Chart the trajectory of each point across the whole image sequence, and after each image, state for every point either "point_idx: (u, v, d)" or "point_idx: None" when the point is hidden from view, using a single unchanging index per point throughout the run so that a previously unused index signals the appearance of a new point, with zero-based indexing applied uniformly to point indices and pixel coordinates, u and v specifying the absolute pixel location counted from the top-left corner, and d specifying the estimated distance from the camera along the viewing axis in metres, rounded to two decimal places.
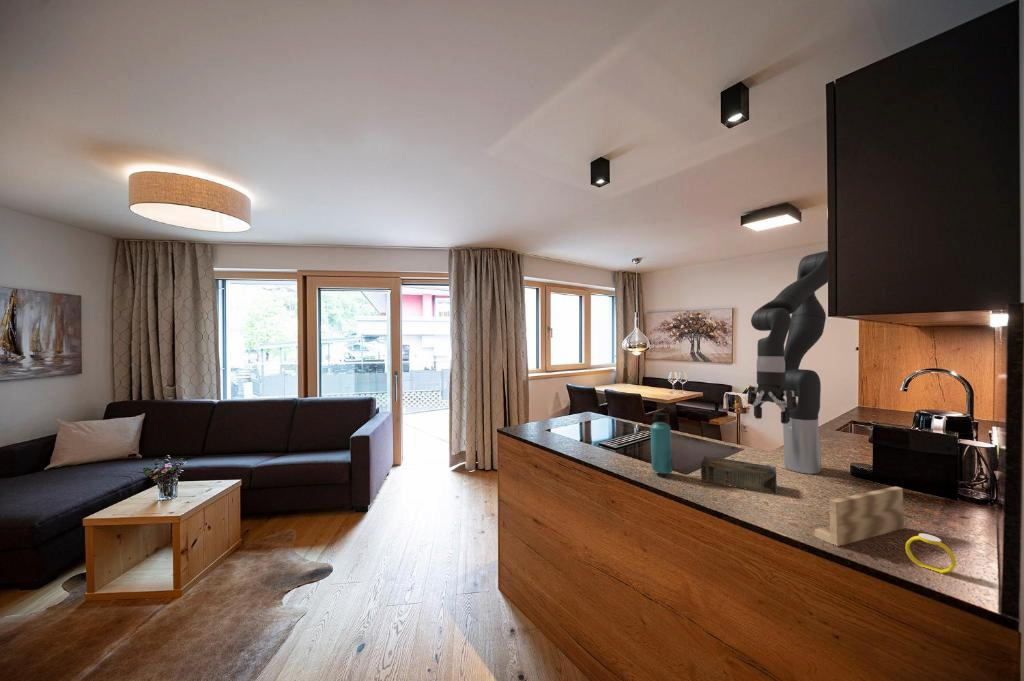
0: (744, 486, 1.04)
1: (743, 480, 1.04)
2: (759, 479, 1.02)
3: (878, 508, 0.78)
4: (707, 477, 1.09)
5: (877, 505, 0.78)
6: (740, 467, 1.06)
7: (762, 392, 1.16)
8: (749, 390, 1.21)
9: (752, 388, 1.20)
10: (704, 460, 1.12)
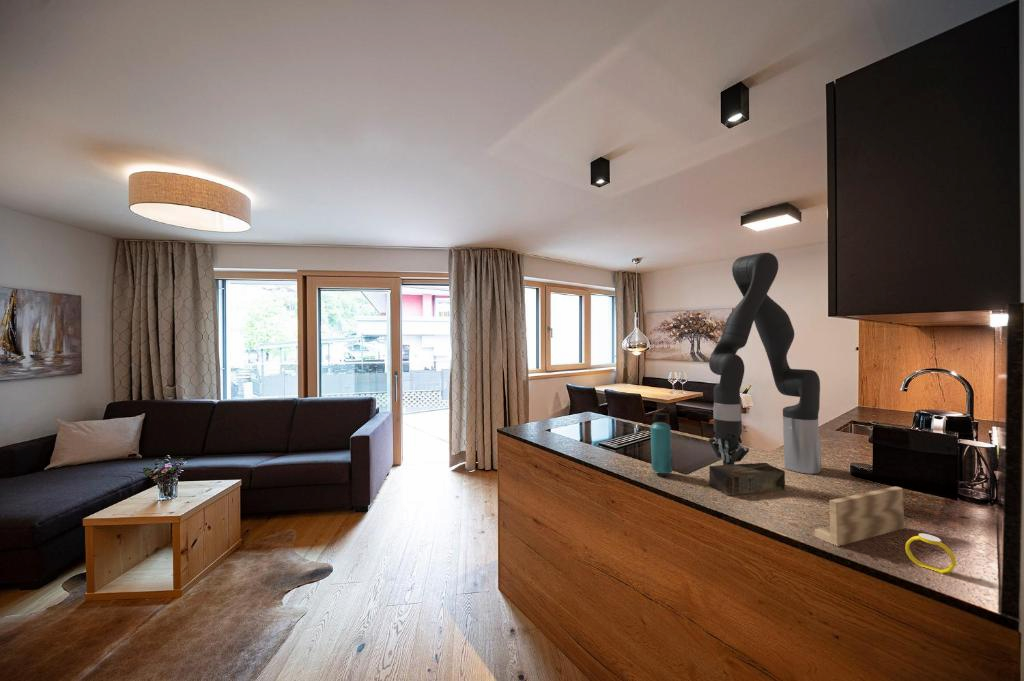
0: (762, 490, 1.01)
1: (762, 484, 1.01)
2: (773, 479, 1.02)
3: (878, 508, 0.78)
4: (733, 490, 0.99)
5: (877, 505, 0.78)
6: (754, 471, 1.02)
7: (719, 440, 1.12)
8: (711, 443, 1.16)
9: (712, 440, 1.16)
10: (723, 471, 1.02)
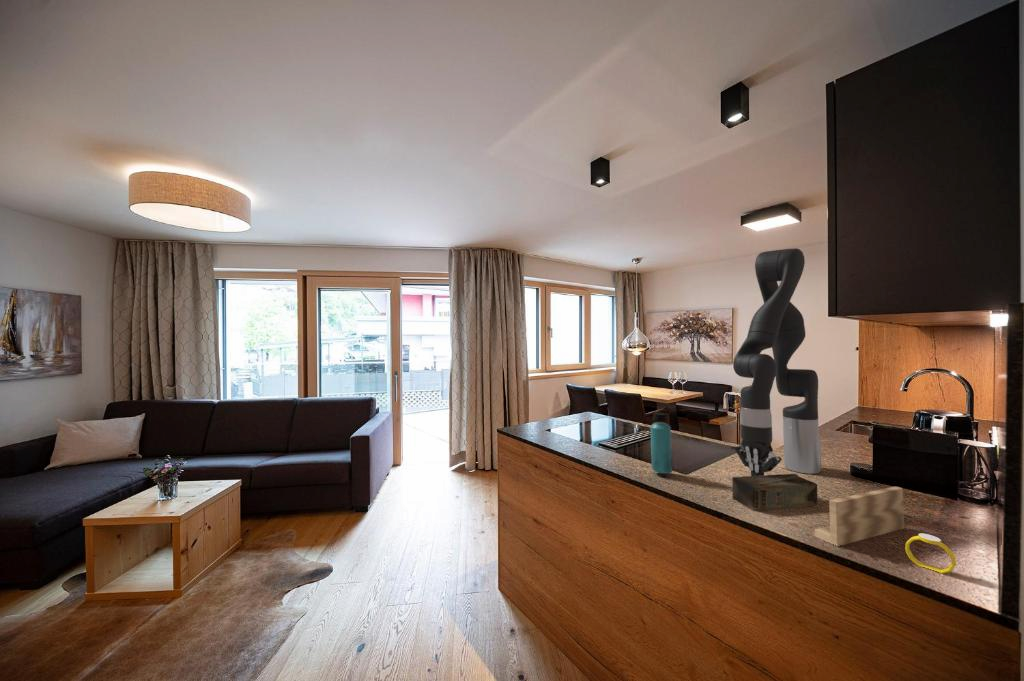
0: (792, 504, 0.92)
1: (792, 498, 0.92)
2: (804, 493, 0.93)
3: (878, 508, 0.78)
4: (759, 505, 0.90)
5: (877, 505, 0.78)
6: (783, 483, 0.93)
7: (747, 448, 1.03)
8: (737, 451, 1.07)
9: (738, 447, 1.07)
10: (747, 483, 0.93)
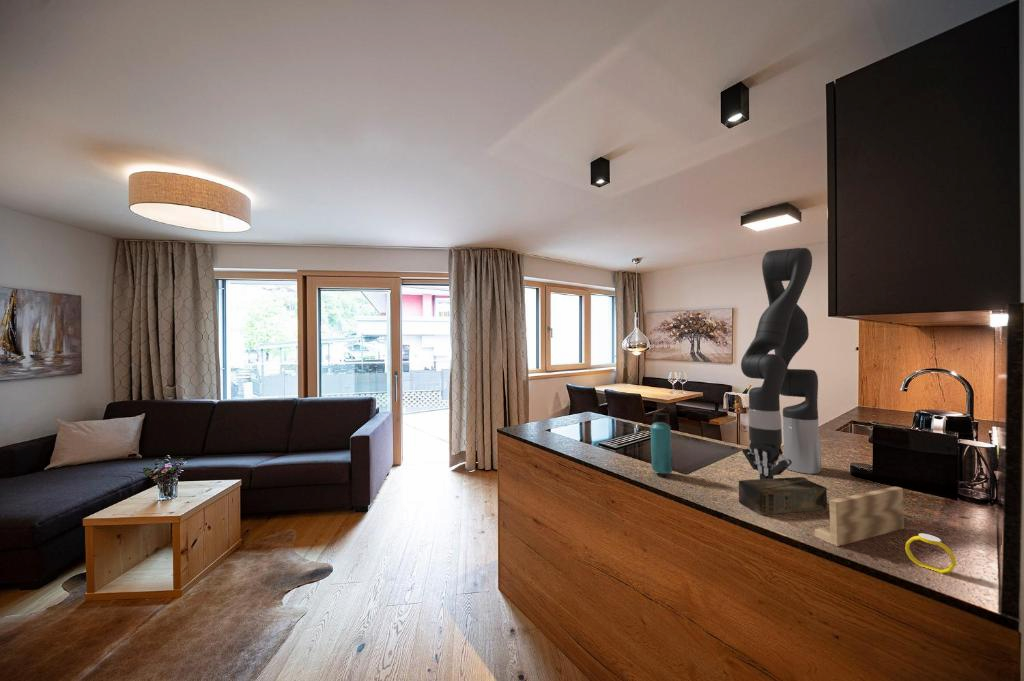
0: (801, 509, 0.89)
1: (800, 502, 0.89)
2: (813, 497, 0.90)
3: (878, 508, 0.78)
4: (766, 509, 0.88)
5: (877, 505, 0.78)
6: (791, 487, 0.91)
7: (755, 450, 1.00)
8: (745, 453, 1.04)
9: (746, 450, 1.04)
10: (754, 487, 0.90)
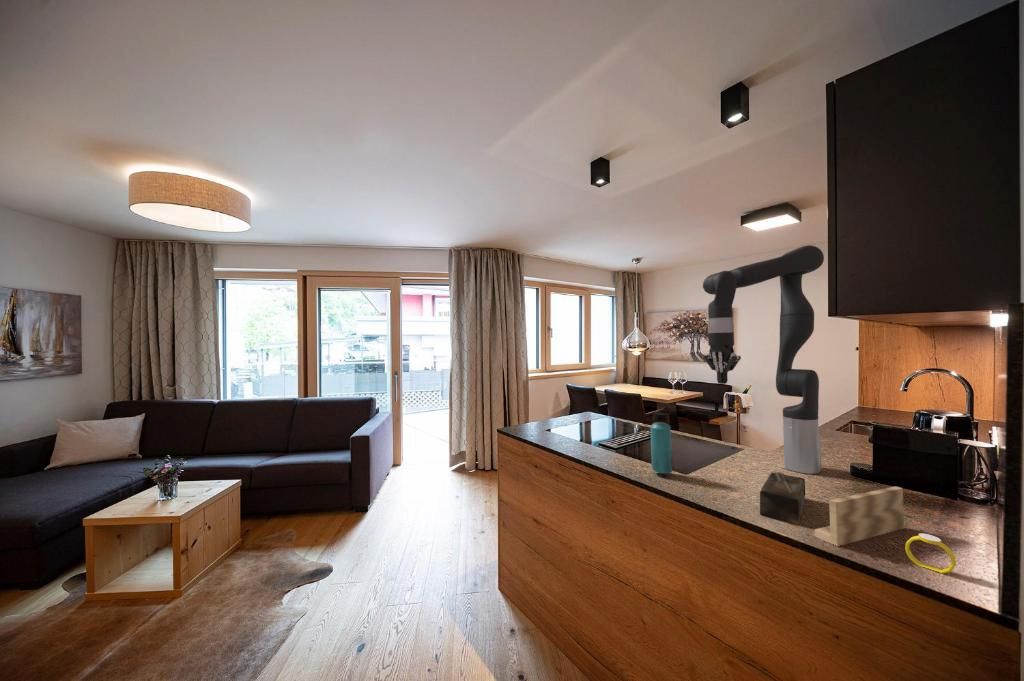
0: (803, 505, 0.91)
1: (803, 499, 0.91)
2: None
3: (878, 508, 0.78)
4: (799, 516, 0.84)
5: (877, 505, 0.78)
6: (794, 486, 0.91)
7: (713, 353, 1.21)
8: (706, 359, 1.25)
9: (707, 355, 1.25)
10: (785, 495, 0.85)
